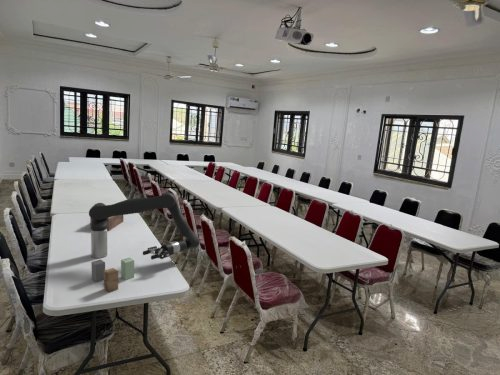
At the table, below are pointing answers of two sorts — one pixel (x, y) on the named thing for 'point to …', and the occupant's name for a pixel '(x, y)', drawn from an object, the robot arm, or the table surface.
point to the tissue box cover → (112, 221)
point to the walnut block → (111, 280)
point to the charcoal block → (98, 270)
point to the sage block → (127, 268)
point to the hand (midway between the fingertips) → (147, 255)
